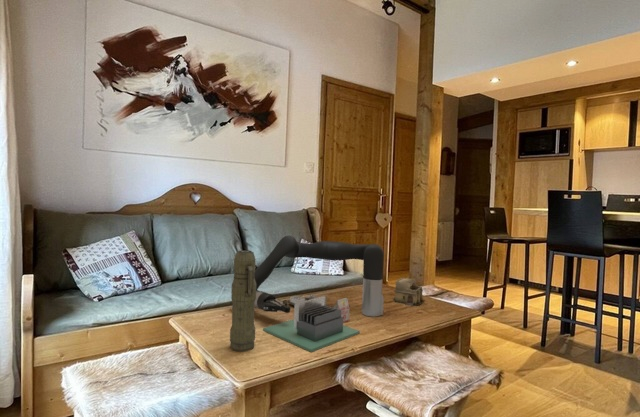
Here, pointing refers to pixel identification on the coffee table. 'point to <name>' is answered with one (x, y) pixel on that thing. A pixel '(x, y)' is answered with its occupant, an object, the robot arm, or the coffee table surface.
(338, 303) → the tea bag
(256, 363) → the coffee table surface
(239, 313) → the thermos
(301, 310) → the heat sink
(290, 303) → the graphics card
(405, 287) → the miniature house
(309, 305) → the silver metal plate
